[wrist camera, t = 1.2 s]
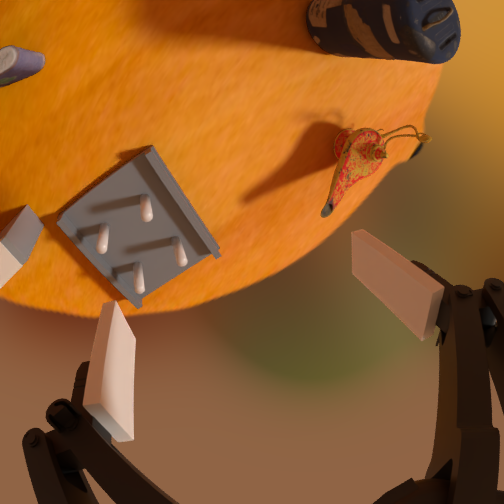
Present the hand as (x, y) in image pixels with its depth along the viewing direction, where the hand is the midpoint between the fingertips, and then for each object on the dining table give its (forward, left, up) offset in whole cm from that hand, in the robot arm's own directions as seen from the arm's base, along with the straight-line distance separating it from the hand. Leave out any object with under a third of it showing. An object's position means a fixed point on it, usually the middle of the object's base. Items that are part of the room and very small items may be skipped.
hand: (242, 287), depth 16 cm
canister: (-8, +26, -23) cm, 35 cm away
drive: (-6, -22, -23) cm, 32 cm away
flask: (-22, -10, -23) cm, 33 cm away
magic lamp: (+9, +20, -23) cm, 32 cm away
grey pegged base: (+4, -8, -22) cm, 24 cm away
